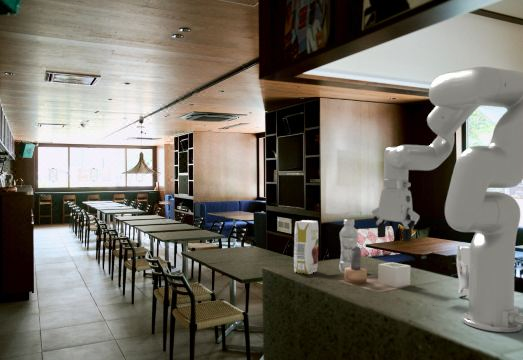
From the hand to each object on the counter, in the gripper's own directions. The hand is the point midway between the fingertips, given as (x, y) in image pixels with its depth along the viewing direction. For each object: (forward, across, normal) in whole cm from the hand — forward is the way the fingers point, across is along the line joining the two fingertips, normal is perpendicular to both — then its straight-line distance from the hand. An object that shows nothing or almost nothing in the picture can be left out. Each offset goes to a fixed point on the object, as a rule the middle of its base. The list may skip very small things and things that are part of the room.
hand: (393, 239), depth 138 cm
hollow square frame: (+14, -1, 0) cm, 14 cm away
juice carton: (+16, +33, +7) cm, 38 cm away
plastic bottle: (+16, +22, -4) cm, 28 cm away
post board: (+16, +3, +4) cm, 17 cm away
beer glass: (+16, -20, -10) cm, 27 cm away
